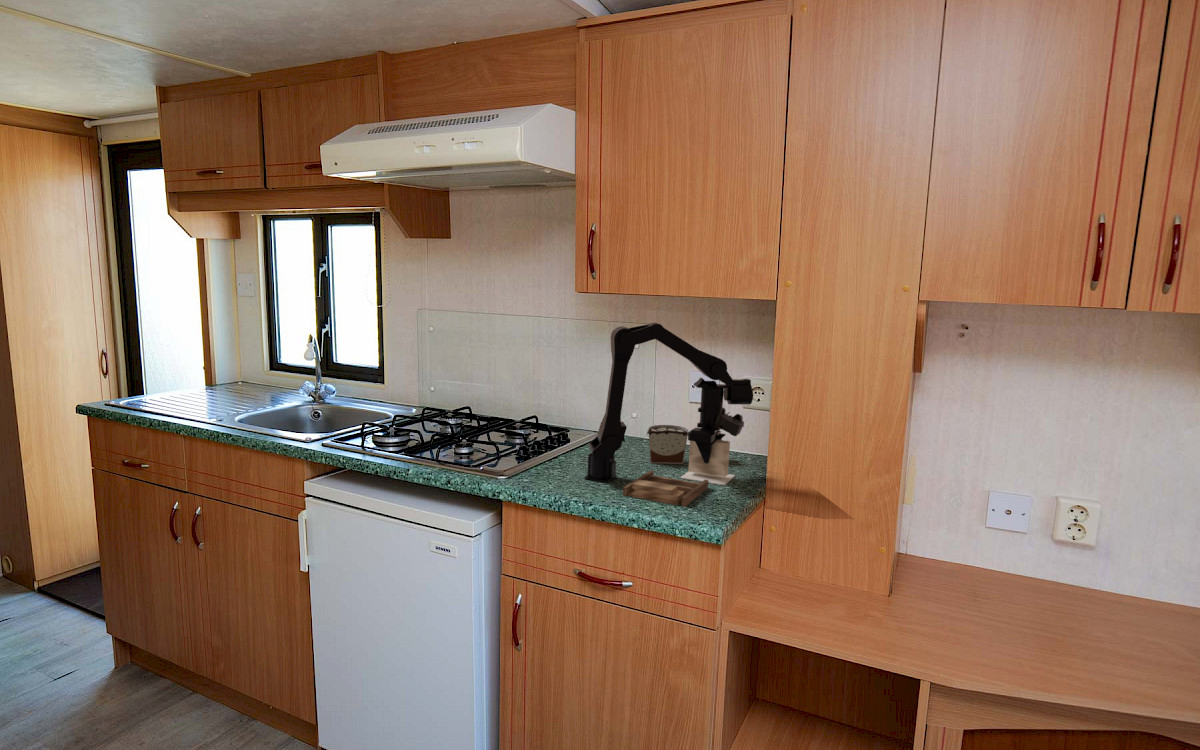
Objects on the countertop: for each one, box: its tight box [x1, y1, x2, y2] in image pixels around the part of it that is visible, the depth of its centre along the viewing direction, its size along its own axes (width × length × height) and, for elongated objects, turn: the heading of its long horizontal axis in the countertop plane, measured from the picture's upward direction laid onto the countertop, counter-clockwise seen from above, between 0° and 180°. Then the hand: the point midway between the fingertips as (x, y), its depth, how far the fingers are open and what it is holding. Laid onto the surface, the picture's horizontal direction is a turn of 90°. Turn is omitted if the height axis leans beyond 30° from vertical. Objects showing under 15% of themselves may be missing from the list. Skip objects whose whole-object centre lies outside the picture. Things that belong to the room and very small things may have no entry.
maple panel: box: [687, 439, 731, 477], centre depth 189 cm, size 10×3×9 cm, turn 63°
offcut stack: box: [627, 480, 685, 506], centre depth 171 cm, size 13×5×4 cm, turn 64°
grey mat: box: [679, 471, 736, 487], centre depth 190 cm, size 12×10×1 cm
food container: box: [646, 424, 690, 465], centre depth 205 cm, size 12×6×10 cm, turn 92°
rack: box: [622, 470, 709, 507], centre depth 176 cm, size 16×17×2 cm
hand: (708, 461), depth 189 cm, fingers closed on maple panel, 3 cm apart
